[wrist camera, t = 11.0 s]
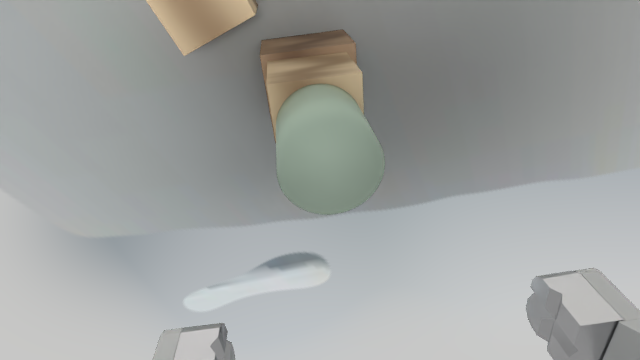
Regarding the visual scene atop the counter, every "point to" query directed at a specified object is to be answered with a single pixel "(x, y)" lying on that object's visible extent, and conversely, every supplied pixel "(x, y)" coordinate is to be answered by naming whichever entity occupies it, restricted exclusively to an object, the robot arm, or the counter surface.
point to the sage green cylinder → (326, 151)
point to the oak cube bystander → (200, 19)
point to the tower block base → (305, 48)
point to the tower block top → (312, 77)
